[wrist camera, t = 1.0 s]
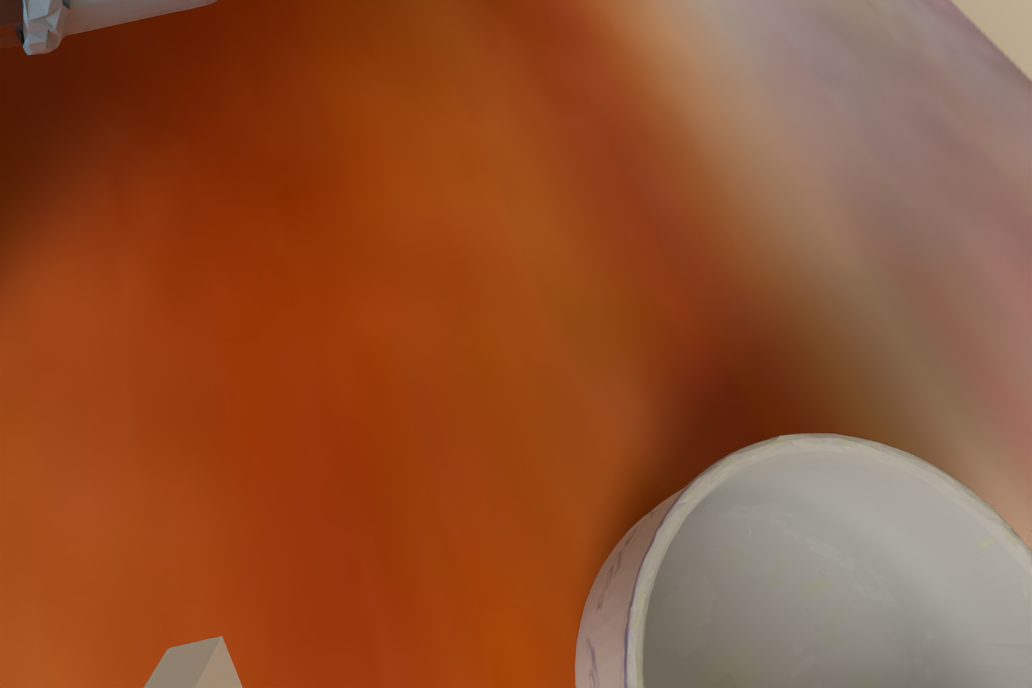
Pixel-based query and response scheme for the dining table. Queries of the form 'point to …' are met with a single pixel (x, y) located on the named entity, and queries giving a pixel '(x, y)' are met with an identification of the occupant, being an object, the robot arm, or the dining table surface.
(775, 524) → the teacup
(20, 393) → the dining table surface
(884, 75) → the dining table surface
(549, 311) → the dining table surface
